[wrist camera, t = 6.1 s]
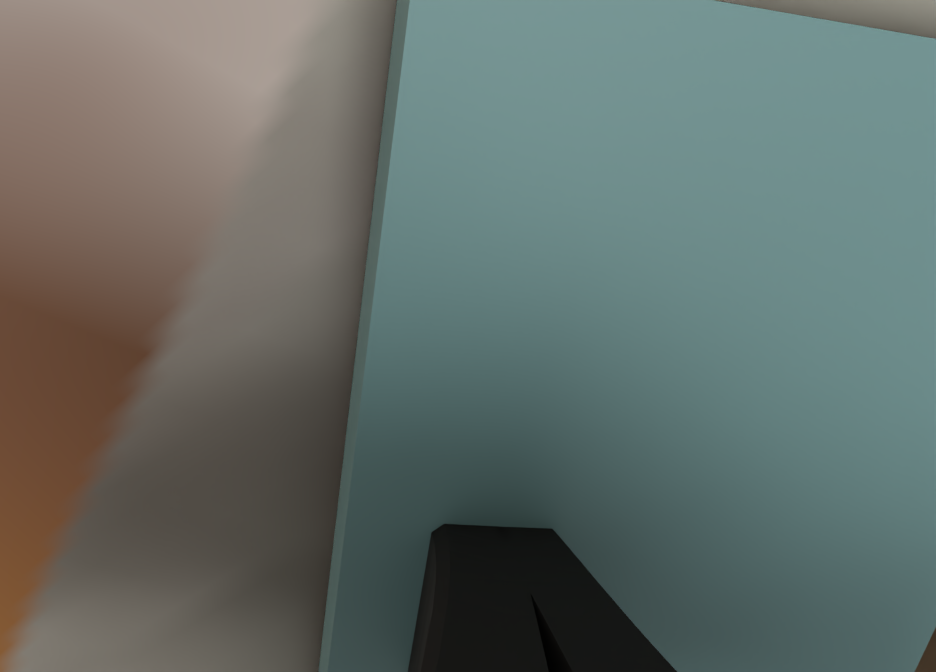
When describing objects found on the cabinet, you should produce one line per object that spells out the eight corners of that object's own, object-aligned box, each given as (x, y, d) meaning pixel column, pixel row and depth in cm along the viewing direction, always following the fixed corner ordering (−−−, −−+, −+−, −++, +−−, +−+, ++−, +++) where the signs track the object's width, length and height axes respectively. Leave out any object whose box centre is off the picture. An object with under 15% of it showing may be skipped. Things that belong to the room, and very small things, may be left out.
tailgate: (1193, 83, 8) (416, -52, 6) (783, 947, 12) (290, 978, 11) (1086, 65, 9) (403, -53, 7) (747, 867, 14) (293, 886, 12)
